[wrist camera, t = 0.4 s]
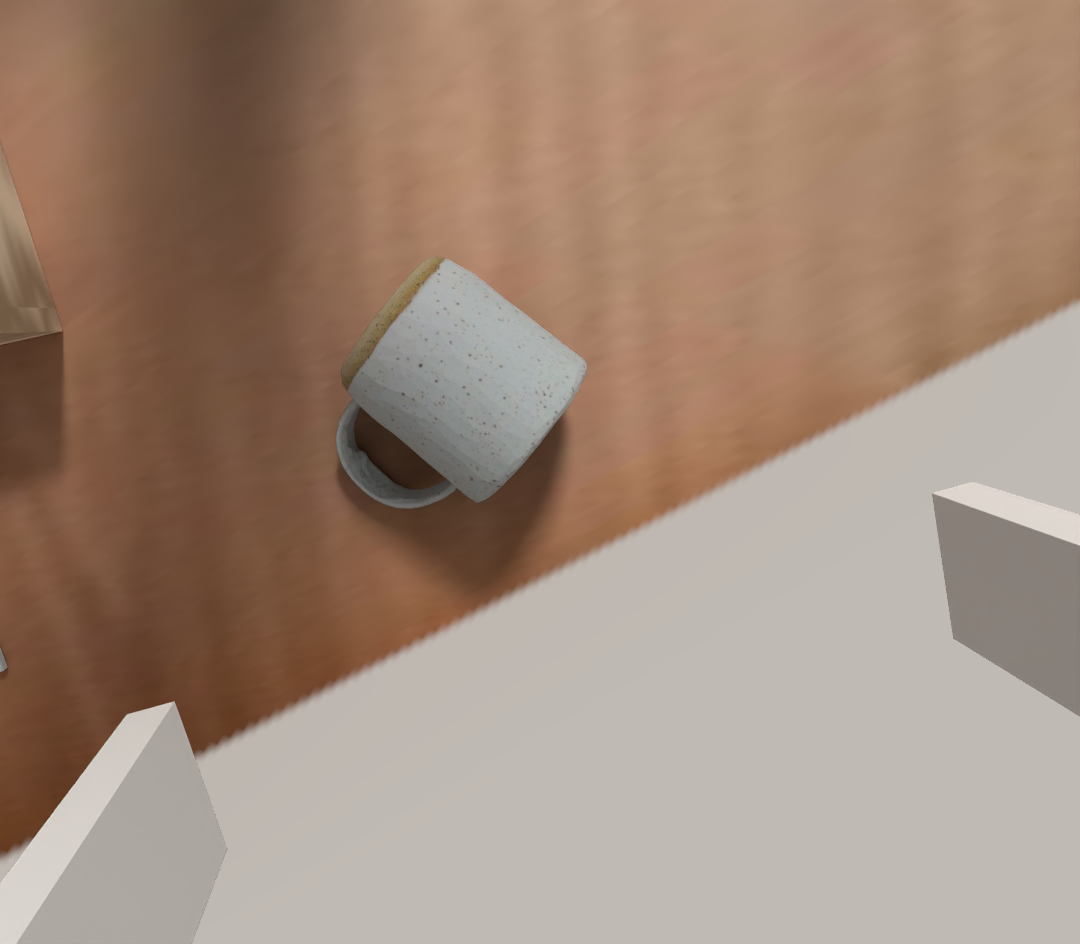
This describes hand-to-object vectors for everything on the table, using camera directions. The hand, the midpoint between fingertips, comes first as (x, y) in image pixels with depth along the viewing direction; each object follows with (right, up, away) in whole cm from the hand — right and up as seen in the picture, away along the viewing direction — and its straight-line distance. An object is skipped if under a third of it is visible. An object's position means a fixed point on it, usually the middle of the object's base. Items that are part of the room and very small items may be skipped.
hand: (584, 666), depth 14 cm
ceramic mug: (-5, +7, +26) cm, 27 cm away
